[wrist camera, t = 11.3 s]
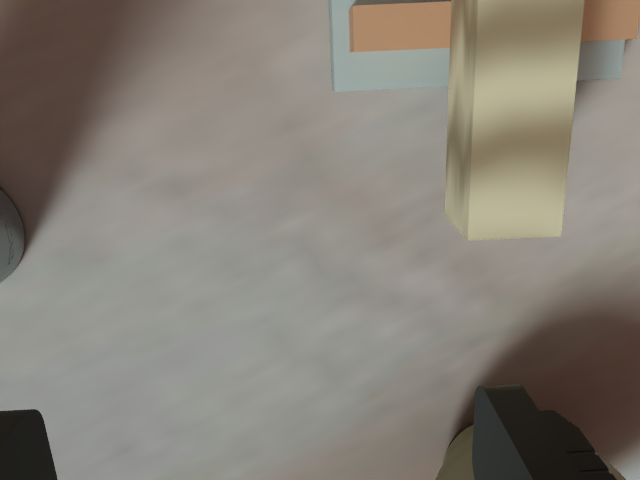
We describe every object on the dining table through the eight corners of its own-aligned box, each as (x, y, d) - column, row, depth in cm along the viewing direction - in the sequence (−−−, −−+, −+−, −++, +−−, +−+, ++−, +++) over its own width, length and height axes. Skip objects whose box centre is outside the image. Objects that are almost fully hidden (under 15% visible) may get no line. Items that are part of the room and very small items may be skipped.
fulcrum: (332, 89, 38) (337, 95, 32) (328, -25, 35) (332, -41, 30) (596, 77, 38) (648, 80, 32) (608, -37, 36) (667, -55, 30)
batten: (457, -216, 27) (490, -272, 23) (558, -219, 27) (612, -277, 23) (444, 215, 34) (467, 240, 30) (525, 211, 34) (560, 236, 30)
